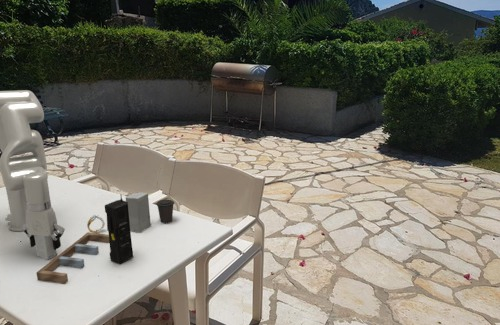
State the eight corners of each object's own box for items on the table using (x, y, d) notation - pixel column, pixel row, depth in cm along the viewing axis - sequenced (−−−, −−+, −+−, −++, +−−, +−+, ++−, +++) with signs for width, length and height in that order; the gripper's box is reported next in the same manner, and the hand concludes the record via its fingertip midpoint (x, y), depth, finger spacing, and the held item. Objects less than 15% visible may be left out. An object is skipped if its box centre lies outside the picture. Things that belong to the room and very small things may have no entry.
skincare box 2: (140, 233, 161) (138, 199, 157) (127, 230, 164) (124, 197, 159) (151, 225, 169) (149, 192, 165) (138, 222, 171) (136, 190, 167)
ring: (88, 235, 158) (86, 218, 156) (87, 232, 161) (85, 215, 159) (105, 232, 162) (104, 215, 159) (104, 229, 164) (103, 212, 162)
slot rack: (37, 280, 127) (36, 272, 126) (88, 238, 156) (87, 232, 155) (65, 283, 126) (64, 275, 125) (111, 241, 154) (110, 234, 153)
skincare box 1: (57, 254, 143) (53, 226, 140) (47, 260, 140) (43, 231, 136) (46, 251, 146) (42, 223, 142) (36, 256, 142) (32, 227, 139)
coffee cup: (156, 218, 175) (154, 199, 173) (173, 216, 179) (172, 196, 176) (159, 226, 168) (157, 205, 166) (176, 223, 171) (175, 203, 169)
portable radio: (118, 266, 136) (111, 203, 129) (107, 261, 139) (100, 199, 132) (134, 256, 143) (129, 196, 136) (124, 252, 146) (118, 193, 139)
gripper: (10, 207, 135) (18, 249, 139) (53, 211, 132) (60, 254, 137) (26, 199, 142) (32, 240, 147) (67, 203, 139) (72, 244, 144)
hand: (45, 246), depth 142 cm, fingers open, 9 cm apart
